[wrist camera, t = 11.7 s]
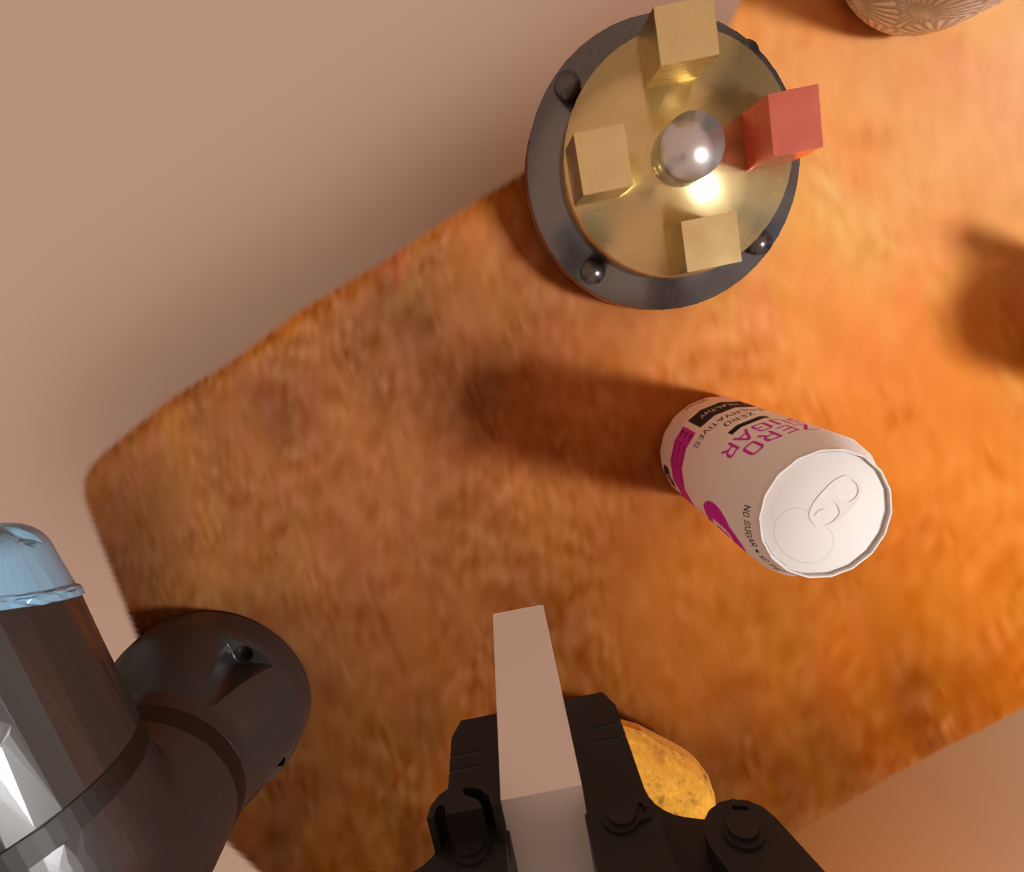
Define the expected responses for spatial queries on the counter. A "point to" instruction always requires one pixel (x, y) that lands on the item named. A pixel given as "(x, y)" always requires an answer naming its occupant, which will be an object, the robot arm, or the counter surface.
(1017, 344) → the counter surface
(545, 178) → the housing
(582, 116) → the brass disc with cubes
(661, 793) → the potato
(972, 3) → the planter
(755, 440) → the supplement can
